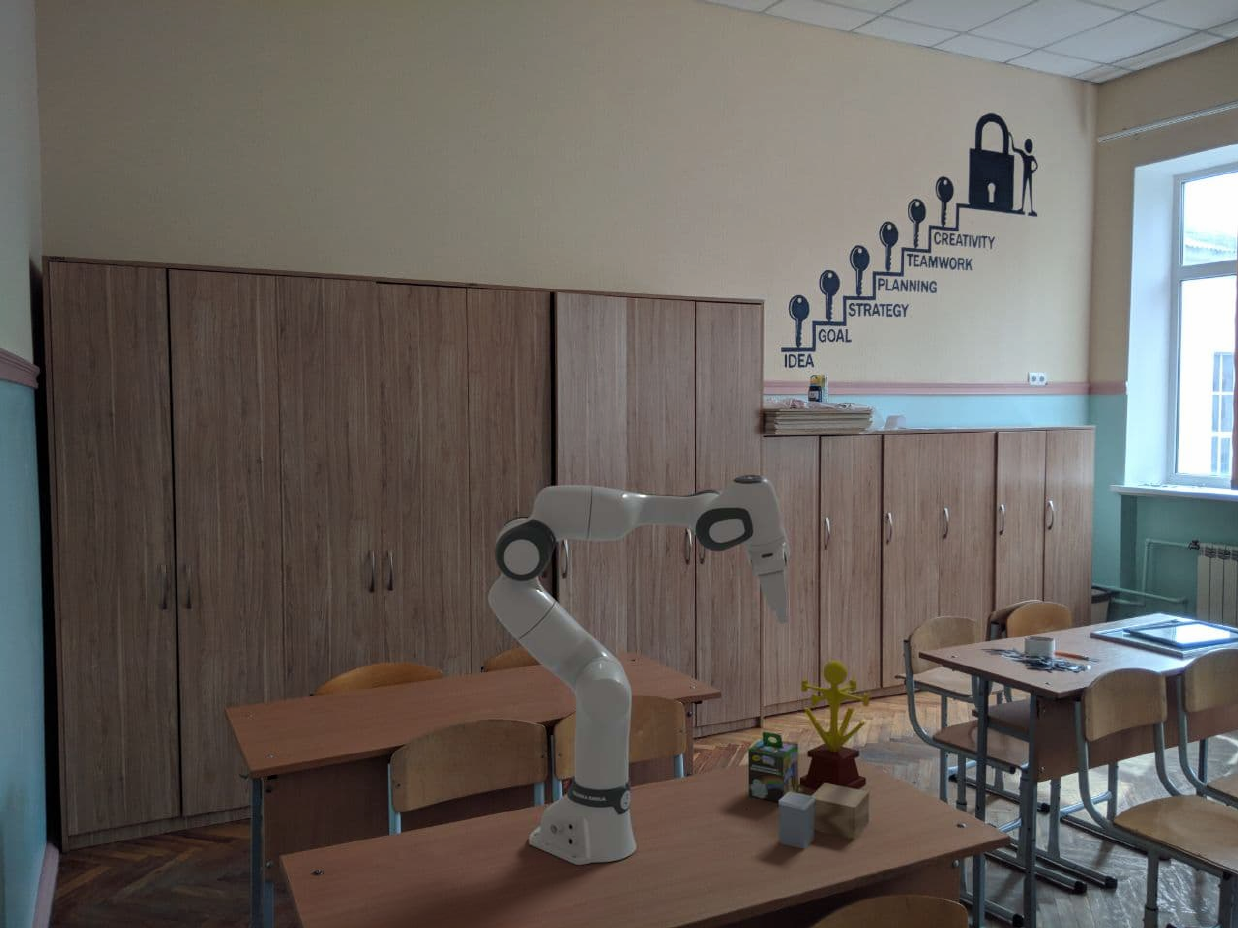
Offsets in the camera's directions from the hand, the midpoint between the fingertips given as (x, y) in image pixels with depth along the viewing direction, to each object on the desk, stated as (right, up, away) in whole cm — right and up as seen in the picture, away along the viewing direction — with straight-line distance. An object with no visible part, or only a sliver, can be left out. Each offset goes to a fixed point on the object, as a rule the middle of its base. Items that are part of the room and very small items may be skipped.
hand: (782, 612), depth 203 cm
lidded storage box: (+3, -48, +2) cm, 48 cm away
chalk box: (+2, -47, +27) cm, 54 cm away
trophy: (+18, -46, +33) cm, 59 cm away
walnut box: (+14, -48, +9) cm, 50 cm away
